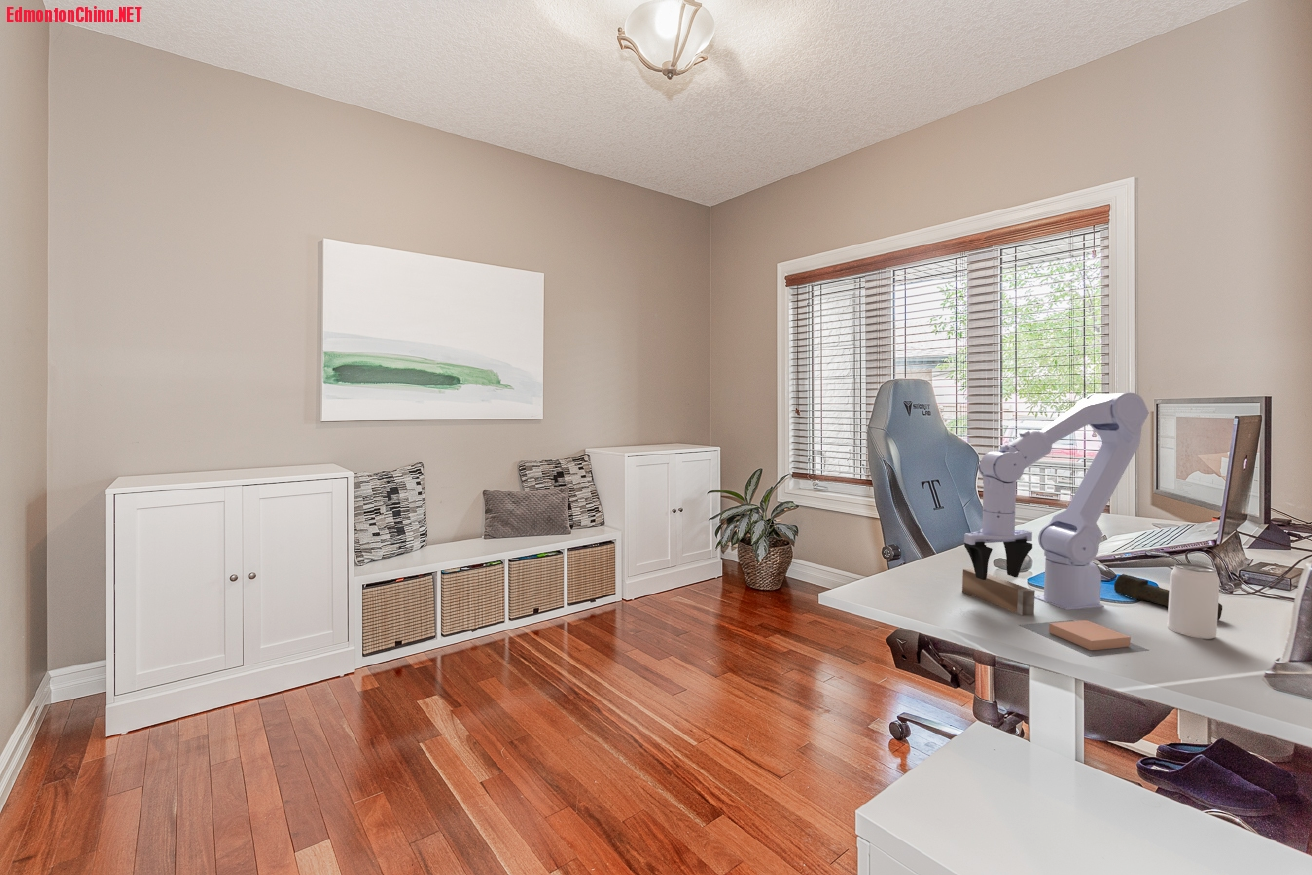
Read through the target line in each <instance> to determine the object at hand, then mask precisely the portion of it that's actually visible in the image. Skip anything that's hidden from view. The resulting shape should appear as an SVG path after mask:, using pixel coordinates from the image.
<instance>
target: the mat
mask: <svg viewBox="0 0 1312 875" xmlns="http://www.w3.org/2000/svg"><path fill="white" fill-rule="evenodd" d="M1069 621H1075V620H1074V619H1070V620H1069V619H1068V620H1058V621H1046V622H1035V623H1023V624H1019V626H1020V627H1022V628H1024V629H1027V630H1028V631H1031V632H1034V633H1036V634H1037V635H1040V636H1043V637H1044V638H1047V639H1049V640H1051V641H1053V642H1056V643H1058V644H1061V645H1063V646H1065V647H1067V648H1069V649H1072V650H1073V651H1077V652H1079V653H1081V654H1083V655H1086V656H1087V657H1098V656H1101V657H1102V656H1109V655H1118V654H1119V655H1121V654H1127V653H1136V652H1137V653H1138V652H1144V651H1145V652H1146V651H1149V649H1148V648H1145V647H1142V646H1140V645H1137V644H1135V643H1133V642H1131V643H1130V647H1120V648H1111V649H1101V650H1092V651H1091V650H1089V649H1086V648H1084V647H1082V646H1079V645H1077V644H1075V643H1072V642H1070V641H1068V640H1065V639H1063V638H1061V637H1058V636H1056V635H1054V634H1052V633H1049V623H1058V622H1069Z"/></svg>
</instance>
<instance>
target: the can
mask: <svg viewBox="0 0 1312 875" xmlns="http://www.w3.org/2000/svg"><path fill="white" fill-rule="evenodd" d="M1173 566H1174V567H1173V569H1172V570H1171V572H1170V578H1169V579H1170V580H1169V607H1168V610H1167V628H1168V630H1170V631H1172V632H1175V633H1177V634H1181V635H1184V636H1188V637H1193V638H1198V639H1200V640H1204V641H1205V640H1206V641H1207V640H1213V639H1214V638H1216V637H1217V628H1218V621H1217V615H1218V603H1219V598H1220V595H1219V593H1220V578H1219V576H1218V574H1217V569H1216V568H1214V567H1211V566H1207V565H1202V564H1197V563H1187V562H1176V563H1174V565H1173Z"/></svg>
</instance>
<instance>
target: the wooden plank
mask: <svg viewBox="0 0 1312 875" xmlns="http://www.w3.org/2000/svg"><path fill="white" fill-rule="evenodd" d="M961 584H962V586H961V592H962V594H963V593H964V594H966V595H968V596H975V597H977V598H980V599H982V600H985V601H986V602H988V603H991V604H994V605H996V606H999V607H1000V608H1003V609H1005V610H1008V611H1010V612H1013V613H1015V614H1016V615H1019V616H1021V617H1023V616H1034V613H1035V612H1034V611H1035V598H1034V596H1035V592H1036V591H1035V590H1034V589H1032V588H1027V587H1025V586H1022V585H1019V584H1018V583H1017V584H1016V583H1014V582H1011V581H1009V580H1006V579H1002V578H1000V577H997V576H994V575H992V574H989V573H987V578H986V580H982V579H979V578H976V575H975V571H974V568H963V569H962V580H961Z"/></svg>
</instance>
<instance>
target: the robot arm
mask: <svg viewBox="0 0 1312 875" xmlns="http://www.w3.org/2000/svg"><path fill="white" fill-rule="evenodd" d="M1149 414H1150V412H1149V409H1148V408H1147V405H1146V404H1145V401H1144V399H1143V397H1142V396H1141V395H1139V394H1138V393H1135V392H1130V391H1129V392H1124V393H1119V392H1118V393H1099V392H1095V393H1090V394H1089V395H1087V396H1086V397H1084V398H1083V399H1080V400H1078V401H1077V402H1076V404H1075V405H1074V406H1072V407H1071V408H1070V409H1069V410H1067V411H1065V413H1063V414H1061V416H1058V417H1057V418H1056V419H1055V420H1053V421H1052V422H1051V423H1049V424H1048V425H1046V426H1045V427H1043V428H1042V429H1041V430H1036V429H1030V430H1022V431H1021V432H1020V433H1019V436H1018V437H1017V438H1015V439H1014V440H1012V441H1011V442H1008V443H1007V444H1002V445H1001V446H1000V447H999V449H998V451H989V452H987V453H986V454H984V455H983V456H982V458H981V460H980V463H979V464H977V469H978V470H977V471H978V472H979V474H980V475H981V477H982V484H983V489H982V491H983V494H982V496H983V498H982V526H981V527H982V528H980V530H977V531H973V532H968V533H967V532H966V533H964V534H963V543H964V544H963V546H964V548H965V550H966V552H967V554H968V556H969V557H970V560H971V564H972V567H973V569H974V571H975V575H976V578H979V579H982V580H986V578H987V574H988V573H989V572H988V570H989V561H990V557H991V554H992V552H993V550H994V549H993V547H989V546H987V544H993V543H1002V544H1003V547H1004V550H1005V558H1006V559H1005V560H1006V561H1005V562H1006V564H1005V565H1006V567H1005V568H1006V574H1007V576H1010V577H1013V578H1019V575H1020V572H1021V569H1022V566H1023V564H1024V562H1025V559H1026V558H1027V556H1028V555H1029V553H1030V552H1031V551H1032V549H1033V544H1032V538H1033V532H1032V531H1029V530H1026V529H1016V504H1017V503H1016V502H1017V500H1016V498H1017V480H1020V479H1021V478H1022V477H1023V475H1024V473H1025V470H1026V469H1027V468H1028V467H1030V466H1031V465H1033V464H1035V463H1036V462H1038V461H1040V460H1041V459H1042V458H1044V457H1045V456H1047V455H1049V454H1050V453H1052V448H1053V444H1055V443H1057V442H1058V441H1059V442H1060V440H1062V439H1064V438H1066V437H1068V436H1069V435H1071V434H1073V433H1075V432H1076V431H1079V430H1080V429H1082V428H1083V427H1086V426H1088V425H1089V426H1090V427H1091V429H1093V430H1094V432H1095V433H1096V435H1098V436H1099V438H1100V440H1101V442H1102V444H1101V446H1100V448H1099V449H1098V451H1097V453H1096V454H1095V456H1094V458H1093V460H1092V462H1091V464H1090V466H1089V467H1088V469H1087V471H1086V473H1085V475H1084V477H1083V478H1082V479H1081V481H1080V484H1079V486H1078V487H1077V489H1076V491H1075V493H1074V495H1073V497H1072V499H1071V501H1070V502H1069V504H1068V506H1067V508H1066V509H1065V510H1064V511H1062V512H1060V513H1057V514H1055V515H1053V517H1052V518H1051V520H1050V521H1049V523H1048V524H1046V525H1045V526H1043V527H1042V528H1041V530H1040V531H1039V534H1038V536H1037V541H1038V544H1039V547H1040V548H1041V549H1042V550H1043V551H1044V552H1043V556H1044V557H1045V562H1044V584H1043V585H1044V586H1043V594H1040V595H1038V594H1036V595H1034V599H1037V600H1039V601H1041V602H1044V603H1047V604H1050V605H1053V606H1055V607H1058V608H1061V609H1063V610H1066V611H1067V610H1077V609H1078V610H1079V609H1080V610H1081V609H1091V608H1102V607H1103V608H1104V606H1105V605H1104V604H1102V603H1101V585H1102V573H1101V571H1100V568H1099V567H1098V565H1097V563H1094V562H1093V561H1094V559H1096V557H1097V555H1098V553H1099V549H1100V548H1099V545H1100V541H1101V539H1102V536H1103V533H1102V530H1101V528H1100V526H1099V525H1098V523H1097V522H1098V521H1099V518H1100V517H1101V515H1102V513H1103V512H1104V510H1105V508H1106V506H1107V505H1108V503H1109V500H1111V496H1112V495H1113V494H1114V491H1115V490H1116V488H1117V486H1118V485H1119V483H1120V480H1121V479H1122V477H1123V475H1124V473H1125V472H1126V470H1127V468H1128V466H1129V464H1130V463H1131V460H1132V459H1133V457H1134V455H1135V453H1136V452H1137V450H1138V448H1139V446H1140V442H1141V436H1142V435H1141V434H1142V426H1143V425H1144V423H1145V421H1146V419H1147V418H1148V416H1149ZM1030 542H1031V543H1030Z"/></svg>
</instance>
